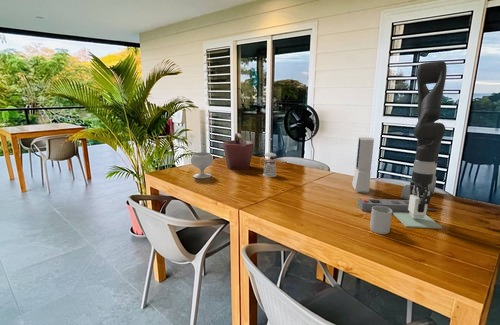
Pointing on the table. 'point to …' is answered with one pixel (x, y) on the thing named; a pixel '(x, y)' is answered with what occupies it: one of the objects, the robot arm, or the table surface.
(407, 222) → the rubber mat
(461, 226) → the table surface
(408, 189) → the ceramic mug
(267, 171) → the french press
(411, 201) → the block
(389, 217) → the cup
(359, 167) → the electronic device
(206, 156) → the chalice
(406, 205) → the power strip
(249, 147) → the bucket
